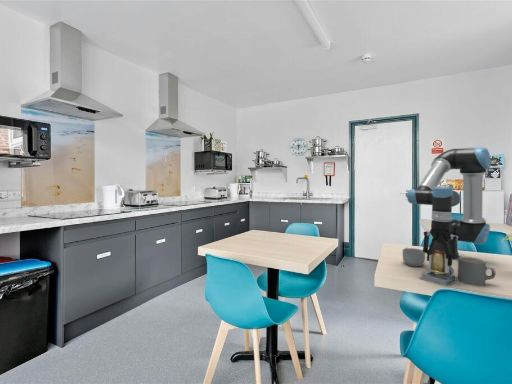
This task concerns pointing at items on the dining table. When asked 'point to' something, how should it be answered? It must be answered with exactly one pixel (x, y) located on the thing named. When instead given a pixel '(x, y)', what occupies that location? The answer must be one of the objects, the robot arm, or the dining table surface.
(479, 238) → the robot arm
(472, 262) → the coffee mug
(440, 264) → the cylinder
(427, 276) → the flange seat
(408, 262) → the teacup
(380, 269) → the dining table surface
